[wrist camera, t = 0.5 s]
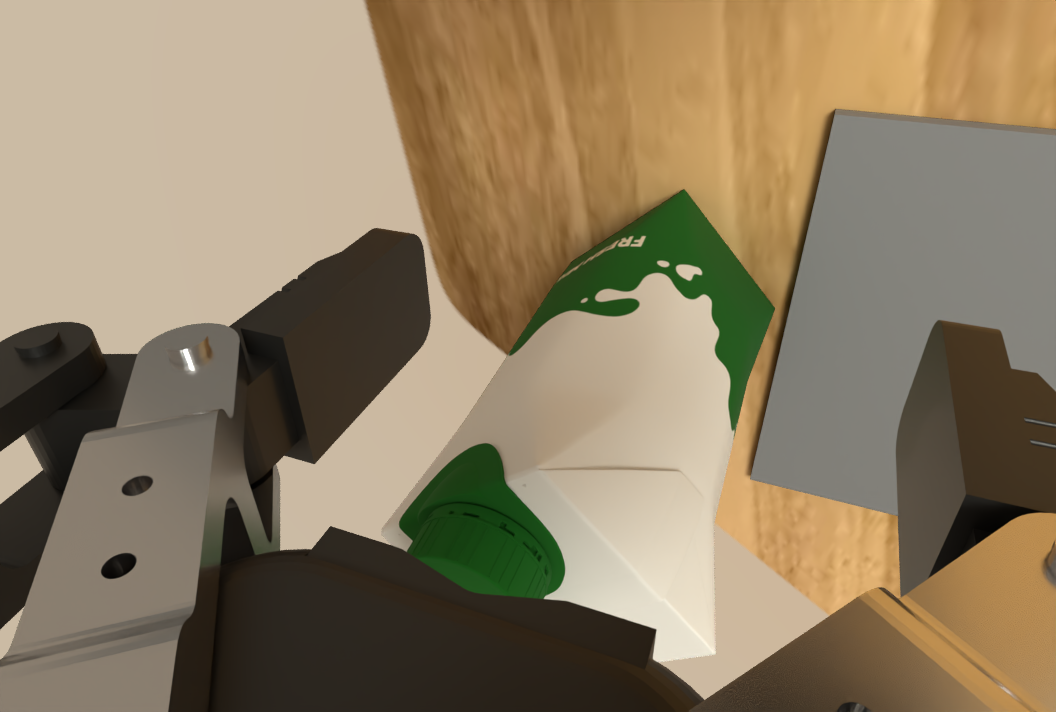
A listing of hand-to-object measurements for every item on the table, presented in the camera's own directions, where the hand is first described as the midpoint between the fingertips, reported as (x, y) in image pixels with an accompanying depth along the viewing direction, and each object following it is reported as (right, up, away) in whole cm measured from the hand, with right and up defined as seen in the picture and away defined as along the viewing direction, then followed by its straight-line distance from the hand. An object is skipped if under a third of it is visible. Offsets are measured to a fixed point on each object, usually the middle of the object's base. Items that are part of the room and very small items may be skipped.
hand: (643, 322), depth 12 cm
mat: (+16, 0, +20) cm, 26 cm away
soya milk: (+5, +3, +23) cm, 24 cm away
